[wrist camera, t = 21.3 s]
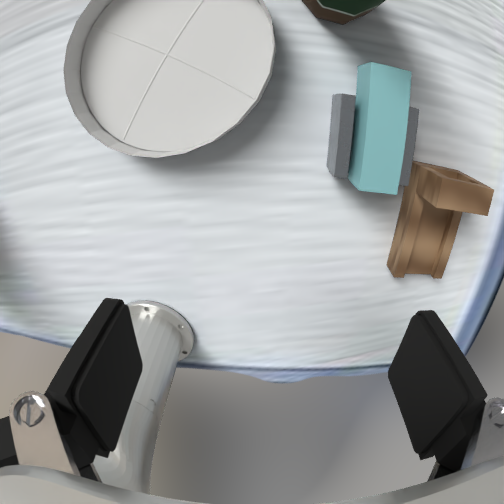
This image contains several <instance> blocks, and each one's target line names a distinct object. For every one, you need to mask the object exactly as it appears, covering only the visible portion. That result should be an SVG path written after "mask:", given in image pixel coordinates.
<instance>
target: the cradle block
mask: <svg viewBox="0 0 504 504" xmlns="http://www.w3.org/2000/svg"><path fill="white" fill-rule="evenodd" d="M355 106H356V97H355V96H354V95H347V94H336V95H333V98H332V112H331V125H330V137H329V147H328V158H327V167H328V168H329V172H330V173H331V174H332V175H333V177H338V178H347V175H348V173H349V167H350V158H351V149H352V140H353V130H354V118H355ZM418 115H419V109H416V108H412V107H409V113H408V123H407V132H406V140H405V148H404V155H403V162H402V168H401V175H400V181H399V185H403V186H408V185H409V179H410V173H411V168H412V161H413V155H414V148H415V141H416V133H417V125H418Z"/></svg>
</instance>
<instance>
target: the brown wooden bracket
mask: <svg viewBox="0 0 504 504" xmlns="http://www.w3.org/2000/svg"><path fill="white" fill-rule="evenodd" d="M493 192H494V190H493V189H492V188H490V187H488V186H486V185H484V184H483V183H481V182H479V181H477V180H475V179H473V178H472V177H470V176H468V175H466V174H464V173H462V172H460V171H458V170H454V169H450V168H445V167H441V166H436V165H432V164H427V163H422V162H417V161H412V168H411V173H410V179H409V185H408V186H405V187H404V193H403V198H402V203H401V207H400V212H399V217H398V221H397V226H396V230H395V234H394V238H393V242H392V246H391V250H390V254H389V258H388V261H387V267H388V268H389V270H390V271H391V273H392V275H393V276H394V277H401V278H404V275H405V273H406V274H431V276H432V277H433V278H442V276H443V273H444V270H445V267H446V264H447V262H448V259H449V256H450V253H451V250H452V246H453V243H454V240H455V237H456V233H457V230H458V226H459V223H460V219H461V216H462V212H468V213H474V214H479V215H485V216H488V212H489V208H490V205H491V201H492V197H493Z"/></svg>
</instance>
